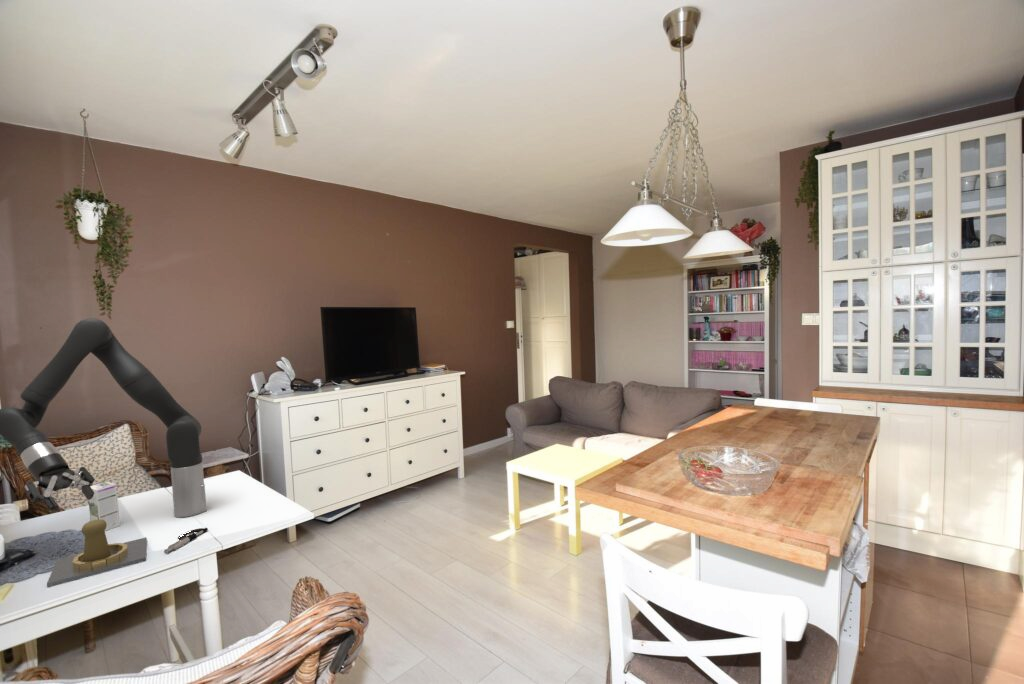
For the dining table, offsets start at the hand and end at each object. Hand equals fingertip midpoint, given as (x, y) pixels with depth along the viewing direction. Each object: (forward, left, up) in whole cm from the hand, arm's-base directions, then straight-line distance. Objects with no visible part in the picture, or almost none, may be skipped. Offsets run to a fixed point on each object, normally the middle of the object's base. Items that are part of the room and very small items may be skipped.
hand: (74, 503), depth 135 cm
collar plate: (-6, +8, -16) cm, 19 cm away
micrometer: (-24, +8, -17) cm, 30 cm away
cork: (-5, +8, -15) cm, 18 cm away
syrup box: (-5, -21, -16) cm, 27 cm away
